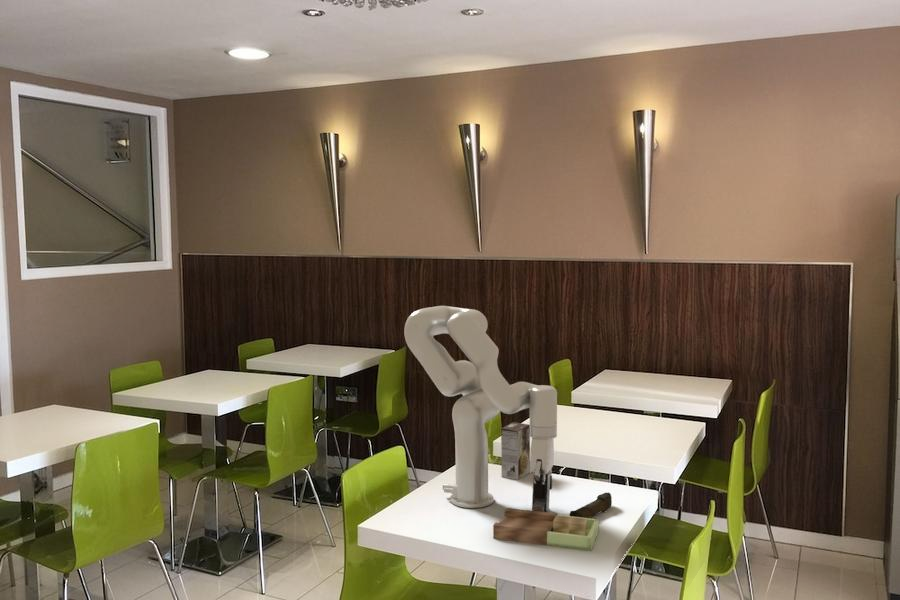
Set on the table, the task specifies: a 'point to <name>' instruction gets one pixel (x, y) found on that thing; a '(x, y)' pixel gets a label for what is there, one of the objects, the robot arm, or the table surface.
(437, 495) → the table surface
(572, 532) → the light brown wooden block
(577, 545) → the tray
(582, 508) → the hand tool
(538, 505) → the cube with crossbar
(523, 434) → the coffee box
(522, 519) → the slot board
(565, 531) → the light brown cube
